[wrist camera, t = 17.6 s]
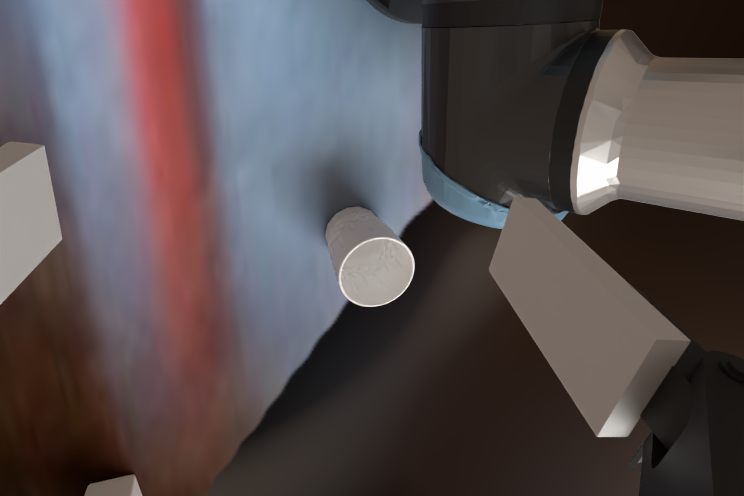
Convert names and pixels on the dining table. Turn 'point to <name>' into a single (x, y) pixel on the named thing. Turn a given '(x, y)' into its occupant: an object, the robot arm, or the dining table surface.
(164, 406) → the dining table surface
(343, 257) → the white cup
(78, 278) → the dining table surface
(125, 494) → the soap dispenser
